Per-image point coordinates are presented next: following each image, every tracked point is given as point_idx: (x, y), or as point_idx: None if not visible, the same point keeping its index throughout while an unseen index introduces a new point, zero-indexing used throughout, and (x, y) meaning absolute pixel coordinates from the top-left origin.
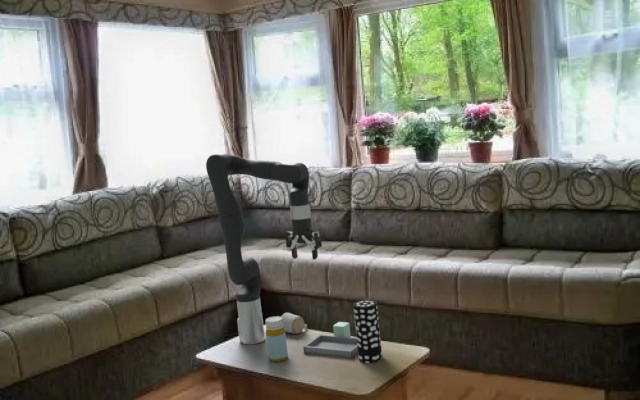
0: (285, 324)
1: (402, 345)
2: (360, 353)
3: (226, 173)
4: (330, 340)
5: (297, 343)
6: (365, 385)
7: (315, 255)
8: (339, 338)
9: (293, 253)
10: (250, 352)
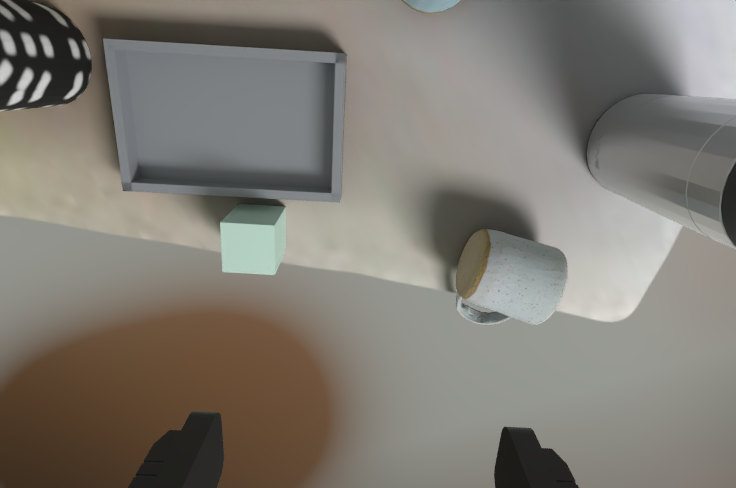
0: (526, 243)
1: (5, 209)
2: (29, 3)
3: None
4: (289, 186)
5: (425, 151)
6: None
7: (152, 460)
8: (243, 187)
9: (543, 486)
10: (595, 10)
